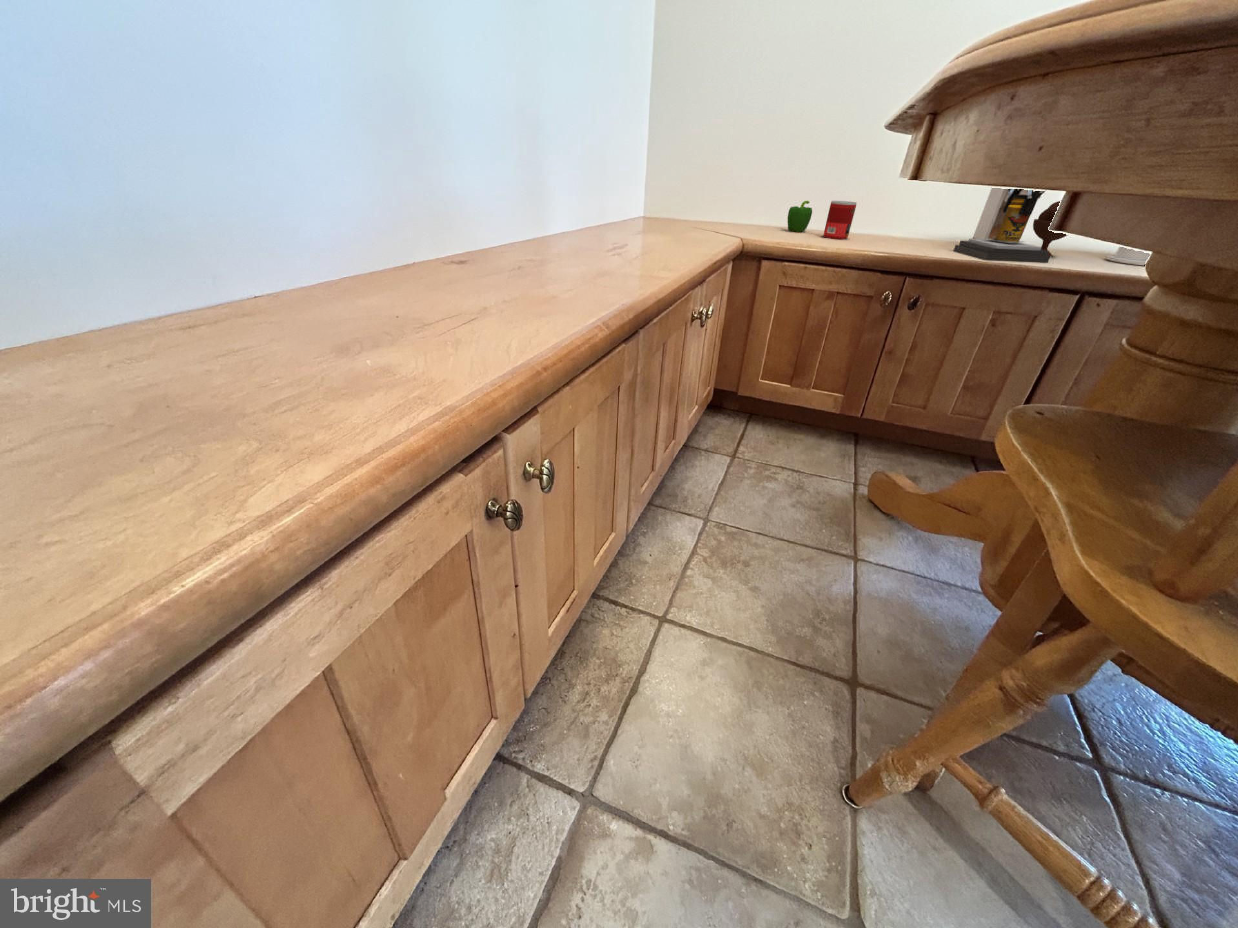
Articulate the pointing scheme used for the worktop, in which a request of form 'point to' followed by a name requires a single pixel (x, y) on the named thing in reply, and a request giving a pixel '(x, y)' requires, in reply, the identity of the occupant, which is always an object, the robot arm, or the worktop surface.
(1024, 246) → the scale pan
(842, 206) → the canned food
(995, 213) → the display case
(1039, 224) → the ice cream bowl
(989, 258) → the scale
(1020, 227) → the condiment
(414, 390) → the worktop surface
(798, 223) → the bell pepper
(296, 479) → the worktop surface
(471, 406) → the worktop surface
